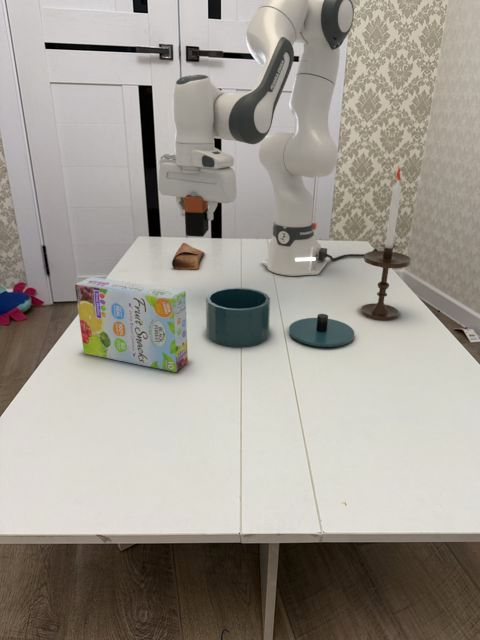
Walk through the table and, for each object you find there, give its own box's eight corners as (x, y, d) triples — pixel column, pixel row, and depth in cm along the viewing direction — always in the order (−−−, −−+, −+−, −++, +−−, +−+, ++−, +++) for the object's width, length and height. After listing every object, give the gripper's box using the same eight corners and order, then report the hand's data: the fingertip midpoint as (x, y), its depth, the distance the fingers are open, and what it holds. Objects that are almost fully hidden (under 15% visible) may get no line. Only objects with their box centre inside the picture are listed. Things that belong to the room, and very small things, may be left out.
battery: (209, 230, 125) (207, 188, 120) (203, 237, 118) (202, 193, 114) (191, 229, 125) (189, 187, 120) (185, 236, 119) (183, 192, 114)
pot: (228, 317, 121) (229, 283, 117) (279, 330, 115) (280, 295, 111) (195, 337, 110) (193, 301, 106) (248, 352, 104) (249, 314, 100)
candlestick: (383, 325, 119) (407, 169, 104) (348, 311, 126) (365, 164, 111) (410, 314, 126) (435, 166, 110) (375, 302, 133) (394, 161, 117)
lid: (305, 317, 122) (306, 299, 120) (363, 331, 116) (365, 312, 114) (277, 338, 111) (278, 319, 109) (339, 355, 104) (341, 334, 102)
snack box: (189, 361, 100) (187, 289, 93) (176, 374, 95) (172, 299, 89) (98, 343, 106) (90, 274, 99) (81, 354, 101) (71, 283, 95)
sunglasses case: (200, 268, 153) (188, 249, 151) (180, 279, 155) (168, 260, 152) (205, 252, 169) (194, 235, 167) (187, 262, 171) (176, 245, 168)
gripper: (150, 154, 116) (154, 214, 122) (224, 161, 107) (225, 226, 113) (167, 152, 121) (171, 210, 127) (240, 158, 112) (239, 221, 118)
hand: (197, 218), depth 120 cm, fingers closed on battery, 5 cm apart
